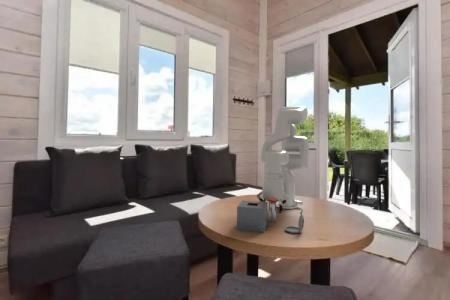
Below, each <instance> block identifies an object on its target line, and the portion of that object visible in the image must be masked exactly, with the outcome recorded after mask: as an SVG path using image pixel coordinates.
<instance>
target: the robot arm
mask: <svg viewBox="0 0 450 300" xmlns="http://www.w3.org/2000/svg"><path fill="white" fill-rule="evenodd" d="M308 112H309V111H308V109H307V107H306V106H305V105H296V106H294V105H292V106H283V107H280V108H279V109H278V110H277V115H276V119H275V125H274V131H273V133H271V134H270V135H269V136H268V137H267V138H266V139H265V140H264V142H263V145H262V148H261V153H260V161H261V162H262V163H263V164H264V165H265V169H264V171H265V172H264V173H265V175H264V176H265V177H264V178H263V182H262V190H261V191H260V192H258V194H256V198H257V199H258V200H259V202H267V199H268V198H276V199H277V200H278V201H277V202H276V208H279V210H278V213H279V214H282V212H283V210H285V209H286V210H293V209H297V208H298V205H300V206H303V204H304V202H303V201H301V200H296V176H295V174H294V173H293V171H301V172H302V171H306V170H307V169H308V167H309V153H310V152H309V151H310V142H309V138H307V137H306V136H302V135H300V136H297V133H298V129H297V127H296V125H302V124H303V123H304V122H305V121H306V120H307V117H308ZM280 142H281V145H280V147H281V150H278V149H277V150H275V149H274V150H273V149H270V148H271V147H272V146H273V145H275V144H277V143H280ZM299 153H300V154H299Z"/></svg>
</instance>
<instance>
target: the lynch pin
mask: <svg viewBox="0 0 450 300" xmlns="http://www.w3.org/2000/svg"><path fill="white" fill-rule="evenodd" d="M267 201H268V221H269V222H277V206H276V203H278V202H279V200H277V199H276V198H268V199H267V200H266V202H267Z"/></svg>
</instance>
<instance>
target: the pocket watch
mask: <svg viewBox="0 0 450 300" xmlns="http://www.w3.org/2000/svg"><path fill="white" fill-rule="evenodd" d="M303 211H304V210H303V209H301V211H300V215H299V218H298V227H297V226H291V225H290V226H286V227H285V228H284V230H285V231H286V232H287V233H291V234H298V233H299V234H300V233H301V232H303V229H304V225H305V218H304V215H303Z"/></svg>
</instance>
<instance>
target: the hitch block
mask: <svg viewBox="0 0 450 300" xmlns="http://www.w3.org/2000/svg"><path fill="white" fill-rule="evenodd" d="M267 225H268V202H267V201H265V202H261V201H256V200H254V201H253V200H245V199H244V200H243V199H242V200H241V202H240V203H238V205H237V207H236V231H243V232H244V231H245V232H252V233H253V232H255V233H261V234H262V233H263V234H265V232H266V227H267Z"/></svg>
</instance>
